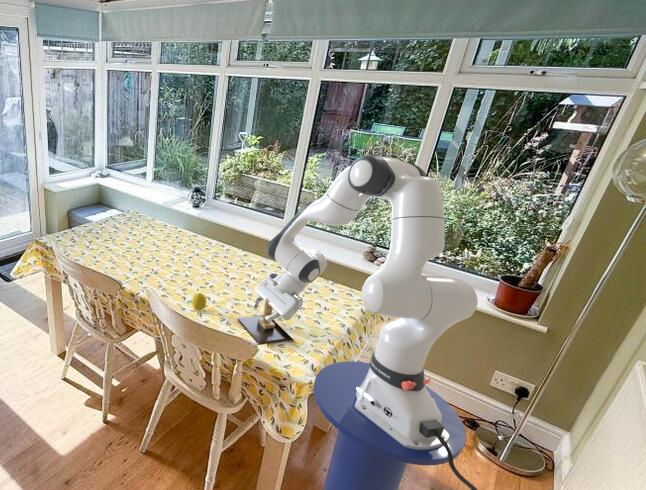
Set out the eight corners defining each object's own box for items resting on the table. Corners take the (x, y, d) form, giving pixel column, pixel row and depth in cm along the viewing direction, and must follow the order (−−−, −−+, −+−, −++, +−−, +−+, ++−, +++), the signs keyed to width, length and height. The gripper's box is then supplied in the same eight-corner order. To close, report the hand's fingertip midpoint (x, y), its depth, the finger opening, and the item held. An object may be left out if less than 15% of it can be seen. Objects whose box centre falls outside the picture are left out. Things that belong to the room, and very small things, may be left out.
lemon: (191, 313, 162) (192, 295, 159) (191, 305, 167) (193, 288, 164) (205, 314, 161) (207, 297, 158) (205, 307, 166) (207, 290, 163)
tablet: (308, 338, 148) (308, 335, 148) (258, 345, 143) (259, 342, 143) (283, 315, 162) (283, 312, 162) (237, 320, 158) (237, 317, 157)
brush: (273, 330, 150) (278, 302, 146) (264, 331, 149) (268, 303, 145) (266, 323, 154) (271, 295, 150) (257, 324, 153) (261, 296, 149)
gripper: (310, 306, 139) (280, 334, 141) (276, 279, 158) (250, 304, 159) (300, 296, 137) (270, 324, 138) (268, 270, 155) (241, 295, 156)
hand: (259, 313), depth 149 cm, fingers open, 8 cm apart
